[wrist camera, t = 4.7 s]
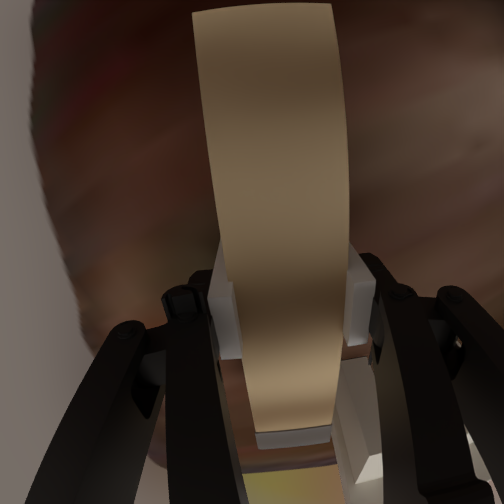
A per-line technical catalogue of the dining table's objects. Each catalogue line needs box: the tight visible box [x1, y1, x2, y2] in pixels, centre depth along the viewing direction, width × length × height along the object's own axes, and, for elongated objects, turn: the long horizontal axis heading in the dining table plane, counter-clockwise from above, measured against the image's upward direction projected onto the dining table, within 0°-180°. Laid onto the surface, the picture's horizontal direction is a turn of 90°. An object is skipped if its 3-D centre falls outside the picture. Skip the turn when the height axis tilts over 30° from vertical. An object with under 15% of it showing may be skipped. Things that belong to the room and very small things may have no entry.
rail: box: [192, 3, 349, 449], centre depth 13 cm, size 20×4×6 cm, turn 6°
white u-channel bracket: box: [331, 341, 491, 504], centre depth 15 cm, size 7×11×14 cm, turn 96°
